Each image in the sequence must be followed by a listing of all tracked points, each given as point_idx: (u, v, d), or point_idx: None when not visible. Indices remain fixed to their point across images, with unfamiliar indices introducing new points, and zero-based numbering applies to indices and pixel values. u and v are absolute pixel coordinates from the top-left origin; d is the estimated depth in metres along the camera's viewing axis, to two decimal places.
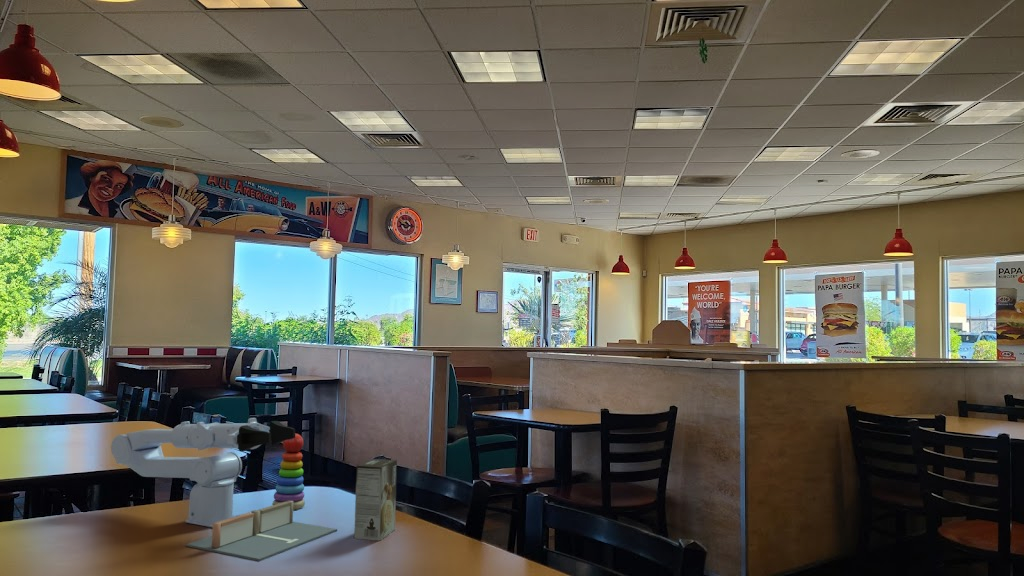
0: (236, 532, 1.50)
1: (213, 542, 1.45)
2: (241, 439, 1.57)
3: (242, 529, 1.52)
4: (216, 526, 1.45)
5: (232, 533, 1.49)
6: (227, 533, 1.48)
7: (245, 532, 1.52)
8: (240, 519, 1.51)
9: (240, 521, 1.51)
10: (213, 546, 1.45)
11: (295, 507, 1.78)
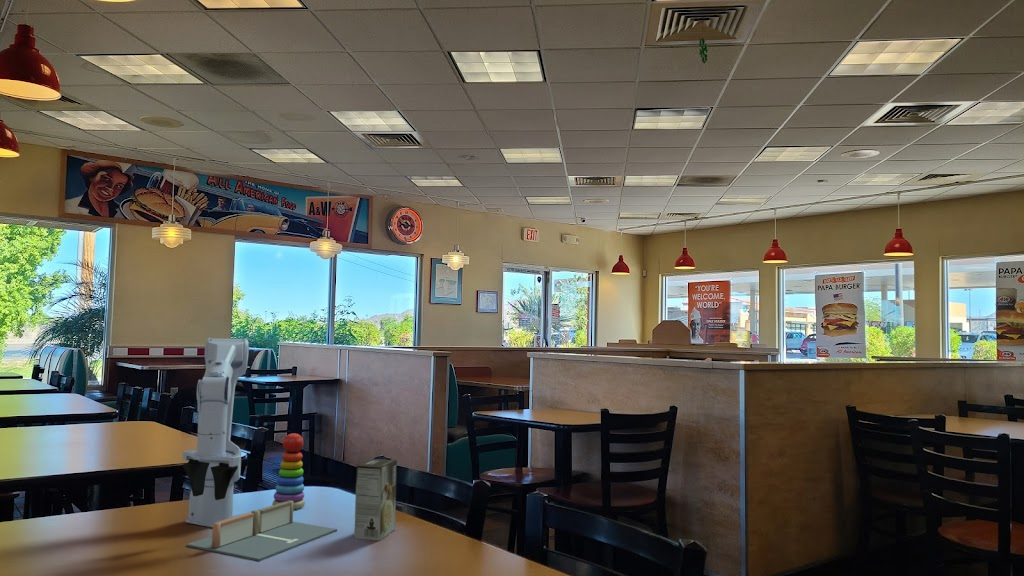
0: (236, 532, 1.50)
1: (213, 542, 1.45)
2: None
3: (242, 529, 1.52)
4: (216, 526, 1.45)
5: (232, 533, 1.49)
6: (227, 533, 1.48)
7: (245, 532, 1.52)
8: (240, 519, 1.51)
9: (240, 521, 1.51)
10: (213, 546, 1.45)
11: (295, 507, 1.78)
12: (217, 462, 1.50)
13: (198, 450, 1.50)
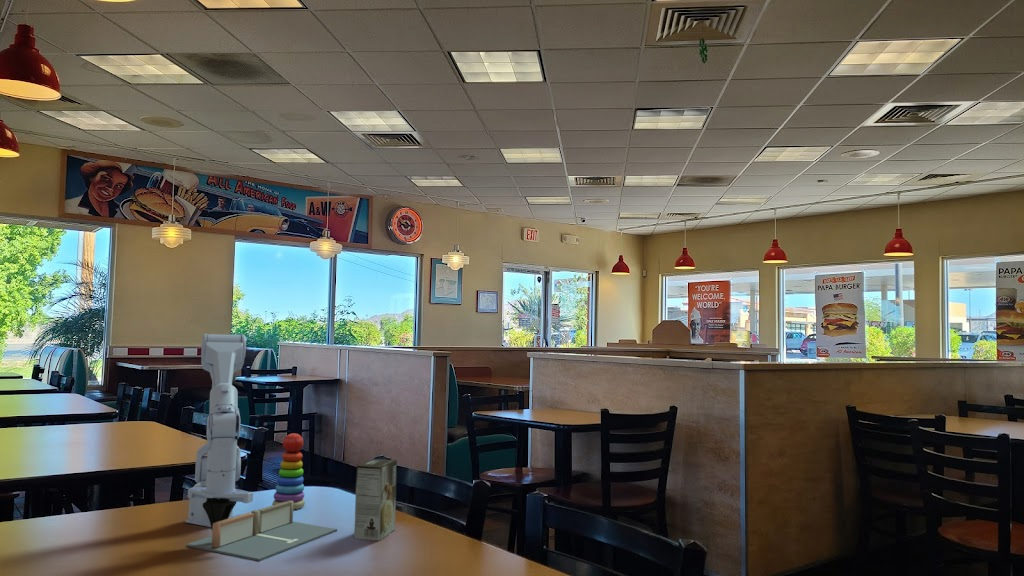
0: (236, 532, 1.50)
1: (213, 542, 1.45)
2: None
3: (242, 529, 1.52)
4: (216, 526, 1.45)
5: (232, 533, 1.49)
6: (227, 533, 1.48)
7: (245, 532, 1.52)
8: (240, 519, 1.51)
9: (240, 521, 1.51)
10: (213, 546, 1.45)
11: (295, 507, 1.78)
12: (228, 499, 1.49)
13: (209, 488, 1.48)
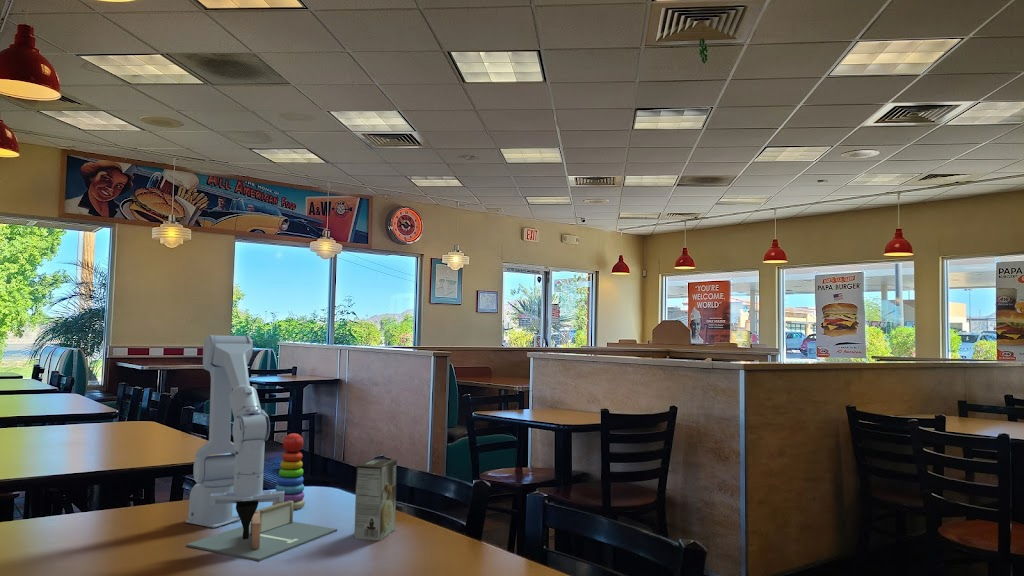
0: None
1: (256, 543, 1.45)
2: None
3: None
4: (259, 527, 1.45)
5: None
6: None
7: None
8: (259, 519, 1.51)
9: None
10: (256, 547, 1.45)
11: (295, 507, 1.78)
12: (259, 500, 1.49)
13: (243, 491, 1.46)
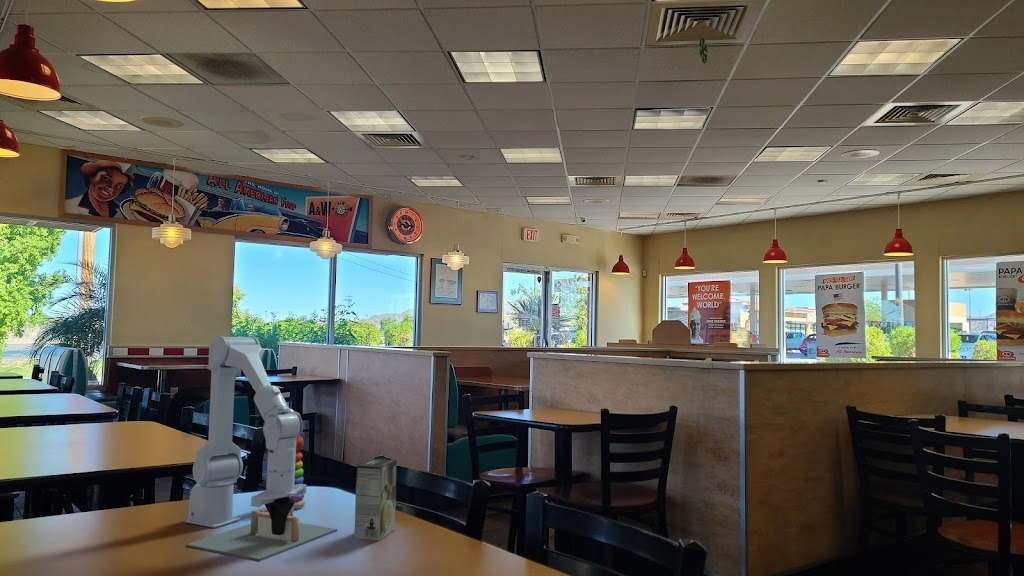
0: None
1: (298, 535, 1.51)
2: (273, 505, 1.50)
3: None
4: None
5: None
6: None
7: None
8: None
9: None
10: (298, 539, 1.51)
11: (295, 507, 1.78)
12: (288, 495, 1.54)
13: (287, 487, 1.50)
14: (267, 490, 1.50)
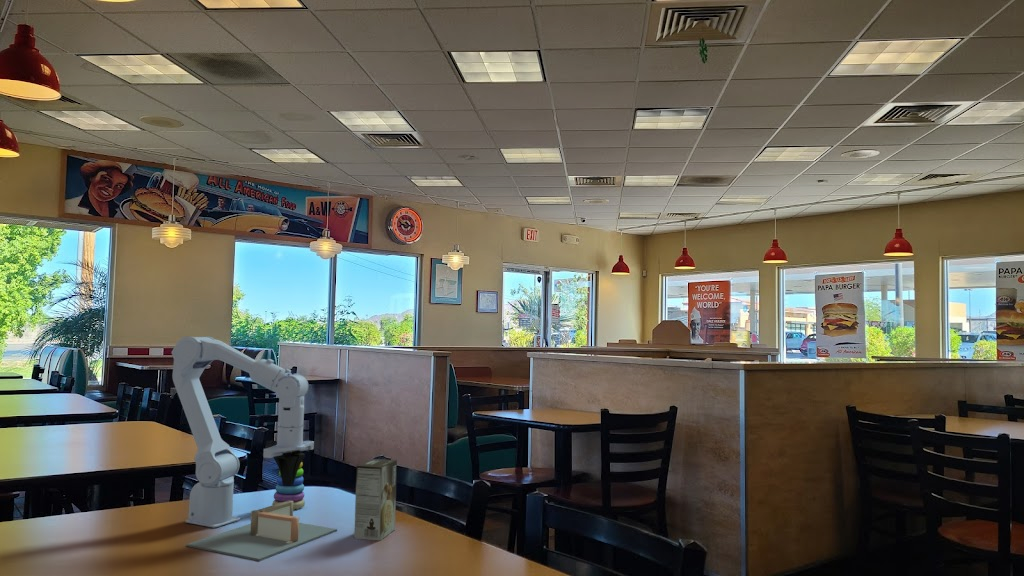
0: None
1: (297, 535, 1.51)
2: None
3: None
4: (298, 519, 1.52)
5: None
6: None
7: None
8: None
9: None
10: (297, 539, 1.51)
11: (295, 507, 1.78)
12: (297, 450, 1.67)
13: (296, 442, 1.64)
14: (278, 444, 1.63)
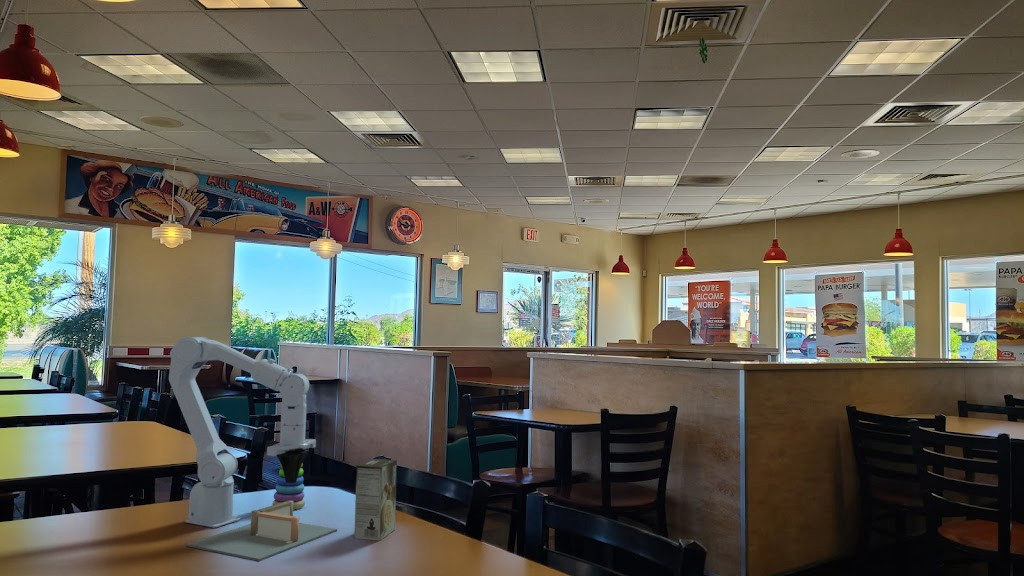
0: None
1: (297, 535, 1.51)
2: (284, 456, 1.66)
3: None
4: (298, 519, 1.52)
5: None
6: None
7: None
8: None
9: None
10: (297, 539, 1.51)
11: (295, 507, 1.78)
12: (299, 448, 1.70)
13: (299, 440, 1.66)
14: (281, 442, 1.66)
